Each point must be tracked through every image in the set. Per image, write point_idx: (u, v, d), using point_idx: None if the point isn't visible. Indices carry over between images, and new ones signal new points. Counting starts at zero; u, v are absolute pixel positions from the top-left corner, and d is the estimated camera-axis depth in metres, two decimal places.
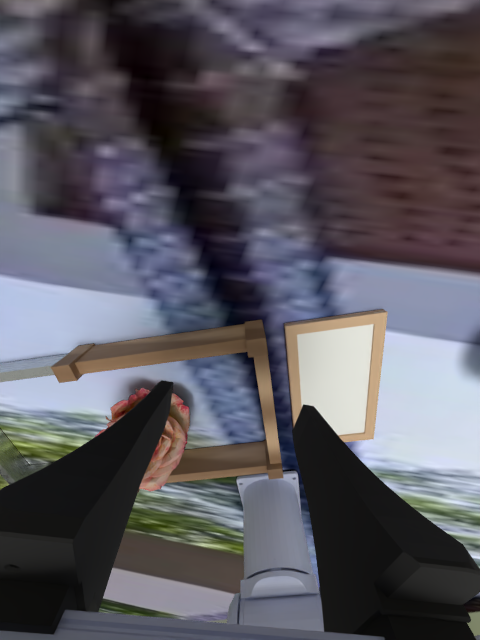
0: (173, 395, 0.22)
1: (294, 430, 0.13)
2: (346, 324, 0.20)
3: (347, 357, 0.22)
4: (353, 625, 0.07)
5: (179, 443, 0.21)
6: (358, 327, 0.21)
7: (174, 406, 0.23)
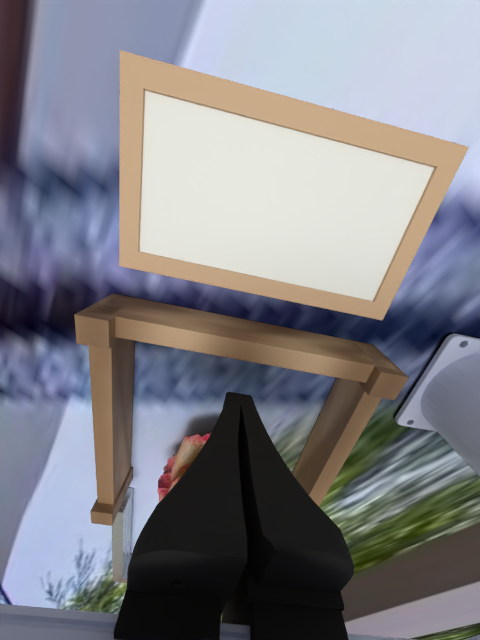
0: (184, 440, 0.17)
1: None
2: (134, 154, 0.11)
3: (212, 167, 0.11)
4: (234, 614, 0.06)
5: None
6: (147, 129, 0.10)
7: None
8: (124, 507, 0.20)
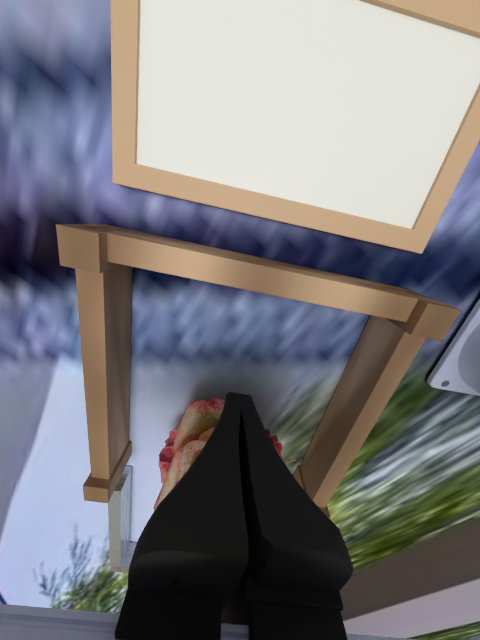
0: (188, 406, 0.15)
1: None
2: (129, 25, 0.09)
3: (225, 45, 0.09)
4: (233, 614, 0.06)
5: None
6: None
7: (210, 413, 0.15)
8: (122, 486, 0.18)
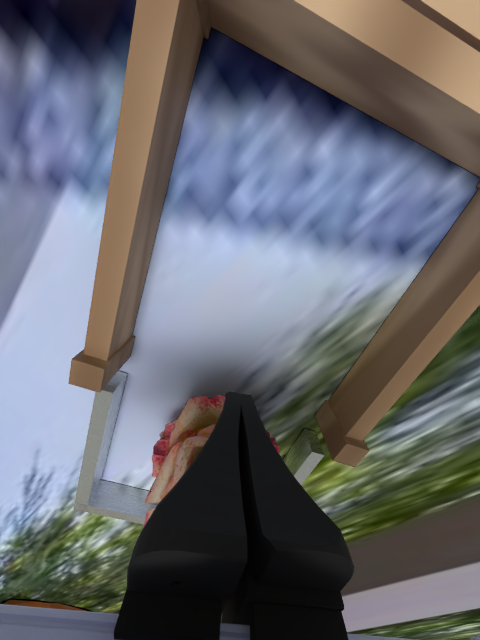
0: (189, 401, 0.14)
1: None
2: None
3: None
4: (233, 614, 0.06)
5: None
6: None
7: (210, 409, 0.15)
8: (114, 388, 0.14)
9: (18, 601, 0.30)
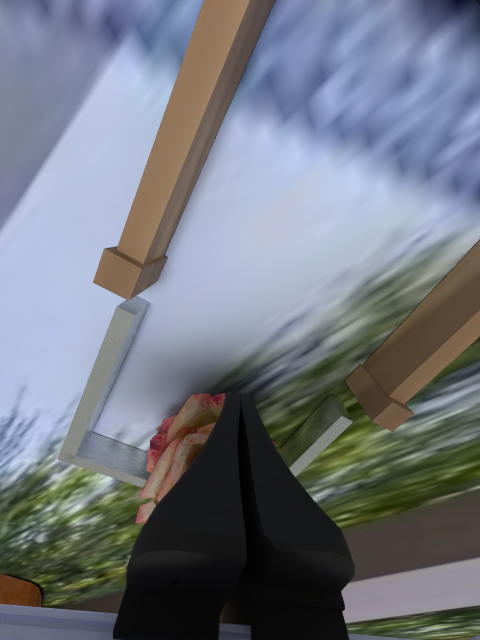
0: (191, 397, 0.14)
1: None
2: None
3: None
4: (234, 615, 0.06)
5: None
6: None
7: (211, 407, 0.15)
8: (136, 312, 0.12)
9: None
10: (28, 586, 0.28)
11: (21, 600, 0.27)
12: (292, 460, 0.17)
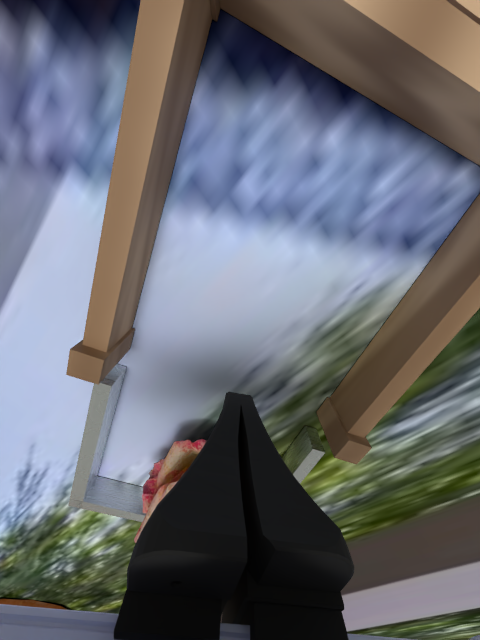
0: (174, 445, 0.16)
1: None
2: None
3: None
4: (234, 614, 0.06)
5: None
6: None
7: (194, 451, 0.16)
8: (113, 381, 0.14)
9: None
10: None
11: None
12: None
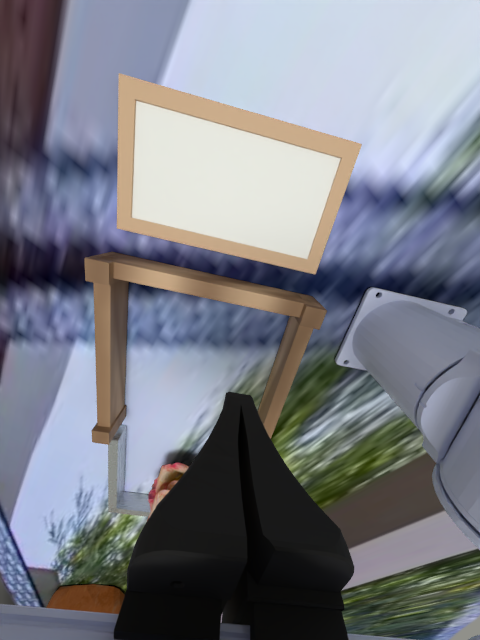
0: (162, 467, 0.26)
1: None
2: (128, 145, 0.15)
3: (184, 155, 0.16)
4: (234, 614, 0.06)
5: None
6: (137, 127, 0.15)
7: (175, 469, 0.27)
8: (119, 437, 0.25)
9: (65, 587, 0.42)
10: (111, 589, 0.41)
11: (109, 597, 0.40)
12: None
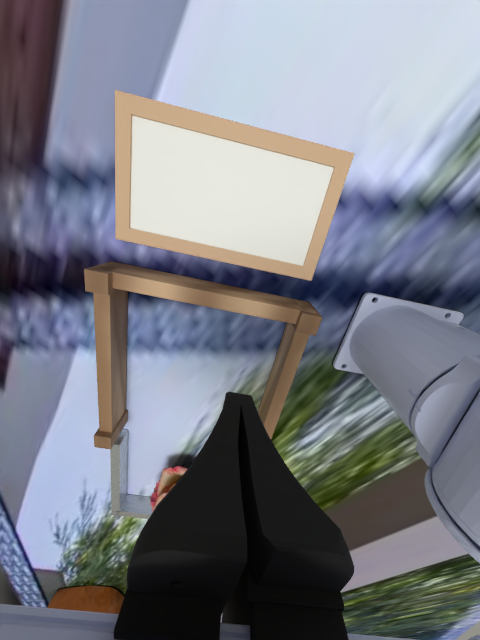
0: (163, 471, 0.27)
1: None
2: (125, 158, 0.16)
3: (179, 167, 0.16)
4: (234, 614, 0.06)
5: None
6: (134, 141, 0.15)
7: (176, 473, 0.27)
8: (120, 442, 0.25)
9: (64, 589, 0.42)
10: (108, 589, 0.42)
11: (105, 598, 0.41)
12: None
